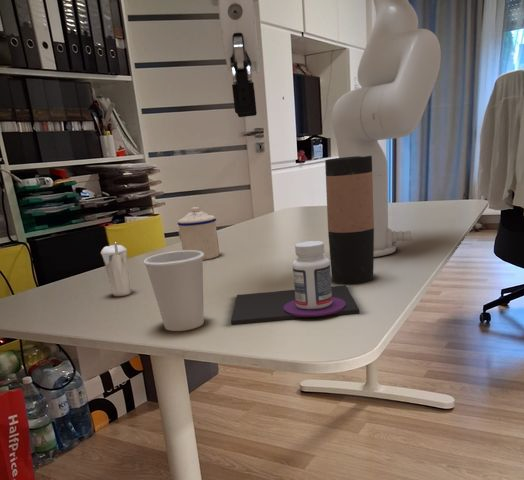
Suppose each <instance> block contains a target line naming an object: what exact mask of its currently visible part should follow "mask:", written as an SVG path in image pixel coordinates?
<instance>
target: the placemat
mask: <svg viewBox="0 0 524 480" xmlns="http://www.w3.org/2000/svg"><path fill="white" fill-rule="evenodd" d="M331 290H332V303H331V305H329V306H328V307H325V308H321V309H311V310H307V309H301V308H298V307H297V306H296V301H295V289H290V290H289V289H286V290H277V291H276V290H275V291H264V292H253V293H244V294H236V297H235V301H234V305H233V310H232V315H231V319H230V323H231V324H230V325H241V324H252V323H262V322H263V323H265V322H275V321H286V320H288V321H289V320H298V319H299V320H300V319H309V318H320V317H331V316H344V315H352V314H355V315H356V314H360V308H359V307H358V305H357V303H356V301H355V299H354V298H353V295H352V294H351V292H350V290H349V289H348V287H347V284H342V285H331Z"/></svg>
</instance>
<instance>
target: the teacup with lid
mask: <svg viewBox="0 0 524 480" xmlns="http://www.w3.org/2000/svg"><path fill="white" fill-rule="evenodd" d="M200 209H201V208H200V207H199V206H193V207H191V208H190V212H188V213H187V214H185V215H184V217H181V218H179V219H178V220H177V225H178V228H179V229H178V236H179V240H180V242H181V249H182V251H184V250H196V251H201V252H203V253H204V256H203V261H205V260H210V259H214V258H217V257H219V256H220V247H219V238H218V232H217V231H218V230H217V222H216V221H217V218H216V216H215V215H212V214H209V213H207V212H204V211H201V210H200Z"/></svg>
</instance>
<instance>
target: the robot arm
mask: <svg viewBox="0 0 524 480" xmlns="http://www.w3.org/2000/svg"><path fill="white" fill-rule="evenodd" d="M257 1H258V0H209V4H210V5H211V6H213V7H217V8H218V17H219V24H220V32H221V40H222V46H223V52H224V56H225V57H224V58H225V63H226V66H227V70H228V73H229V75H230V76H231V77H232V84H231V88H232V97H233V105H234V106H233V107H234V112H235V114H237V117H238V118H246V117H255V116H257V102H256V92H255V83H254V81H253V77H252V75H253V74H252V72H255V75H259V74H260V72H261V64H260V52H259V41H258V39H259V38H258V29H257V20H256V19H257V18H256V12H255V11H256V10H255V6H254V3H256V2H257ZM373 4H374V5H373V6H374V9H375V20H374V24H373V27H372V29H371V31H370V35H369V37H368V40H367V42H366V45H365V48H364V49H363V52H362V55H361V58H360V60H359V64H358V66H357V67H358V68H357V81H358V84H359V86H360V87H361V88H356V89H353V90H350V91H348V92H346V93H344V94H342V95H341V96H340V97H339V98H338V99H337V100H336V101H335V103H334V105H333V108H332V112H331V123H332V128H333V134H334V137H335V141H336V147H337V151H338V152H337V153H338V158H344V157H354V156H361V157H365V156H372V179H373V213H374V258H378V257H382V256H387V255H391V254H393V253H395V252H396V250H397V245H396V244H397V242H407V241H412V238H413V236H412V231H411V230H407V231H406V230H405V231H396V230H394V231H393V230H392V229H390V228H389V201H388V200H389V195H388V194H389V191H388V190H389V188H388V187H389V185H388V180H389V179H388V175H389V174H388V173H389V171H388V161H387V156H386V155H385V154H386V153H385V152H384V151H383V149H382V146H381V145H380V143H379V141H381V140H392V139H399V138H400V139H401V138H405V137H407V136H410V135H411V134H412V133H414V132H415V130H416V129H417V128H418V126H419V124H420V123H421V120H422V118H423V115H424V113H425V110H426V108H427V106H428V102H429V100H430V98H431V95H432V92H433V89H434V87H435V84H436V82H437V79H438V76H439V72H440V69H441V62H442V61H441V60H442V50H441V43H440V41H439V39H438V37H437V35H436V34H435V33H434V32H433V31H431V30H430V29H427V28H419V18H418V14H417V12H416V10H415V8H414V7H413V5H412V4H411V2H409V0H373Z"/></svg>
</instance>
